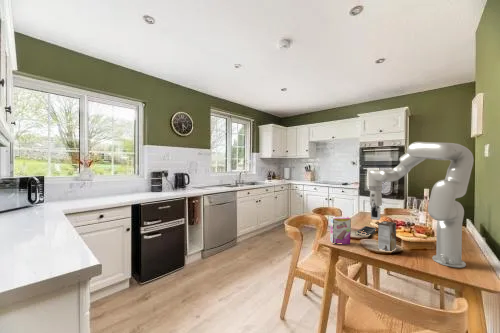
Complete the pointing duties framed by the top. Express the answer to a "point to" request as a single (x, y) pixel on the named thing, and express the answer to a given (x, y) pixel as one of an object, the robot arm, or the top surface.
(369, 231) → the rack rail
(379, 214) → the nut block
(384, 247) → the coffee box
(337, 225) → the candy bar box
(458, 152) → the robot arm
